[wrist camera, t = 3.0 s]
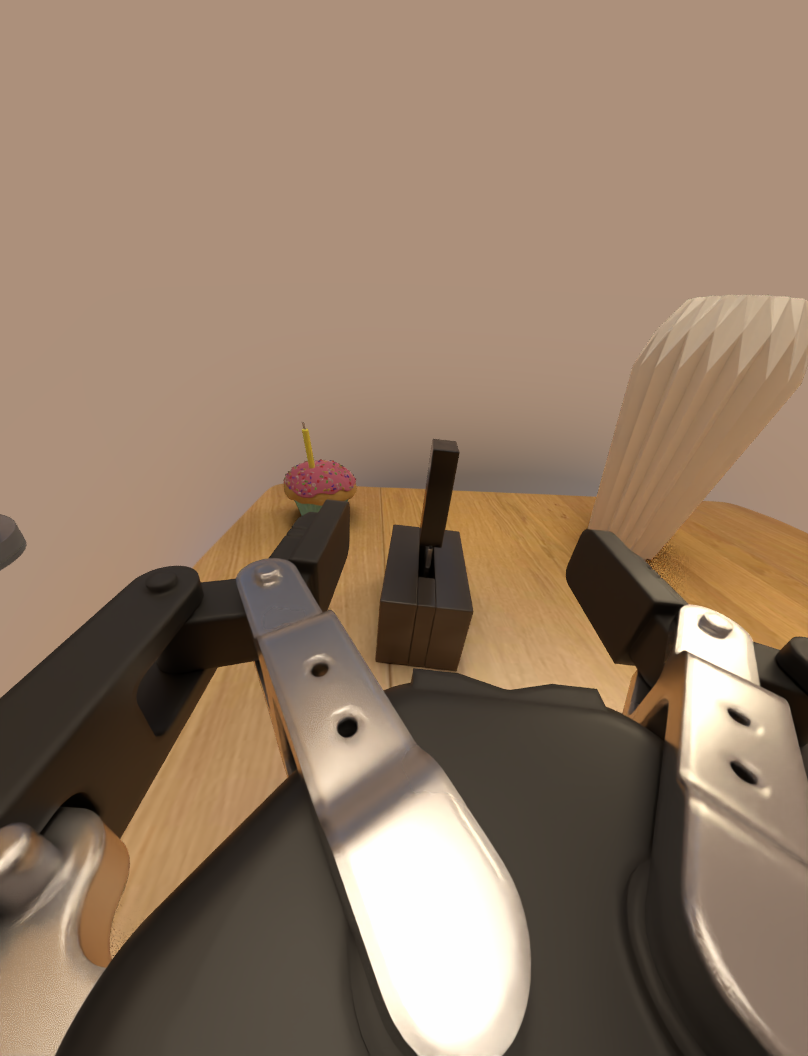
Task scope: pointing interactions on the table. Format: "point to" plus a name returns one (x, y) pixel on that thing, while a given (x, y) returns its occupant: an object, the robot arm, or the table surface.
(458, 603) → the knife block
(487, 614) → the table surface
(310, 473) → the cupcake
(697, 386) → the vase
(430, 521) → the knife
